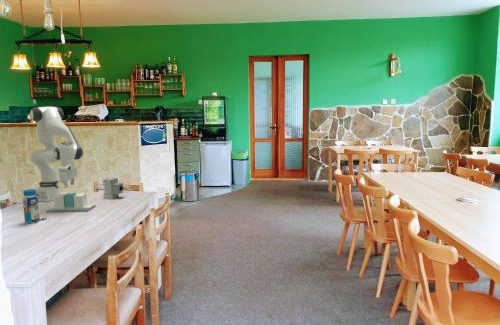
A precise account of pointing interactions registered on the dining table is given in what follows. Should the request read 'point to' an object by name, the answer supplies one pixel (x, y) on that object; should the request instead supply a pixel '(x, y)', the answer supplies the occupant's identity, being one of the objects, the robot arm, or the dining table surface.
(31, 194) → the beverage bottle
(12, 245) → the dining table surface
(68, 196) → the block
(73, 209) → the mounting panel
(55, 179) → the robot arm
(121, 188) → the circuit breaker
